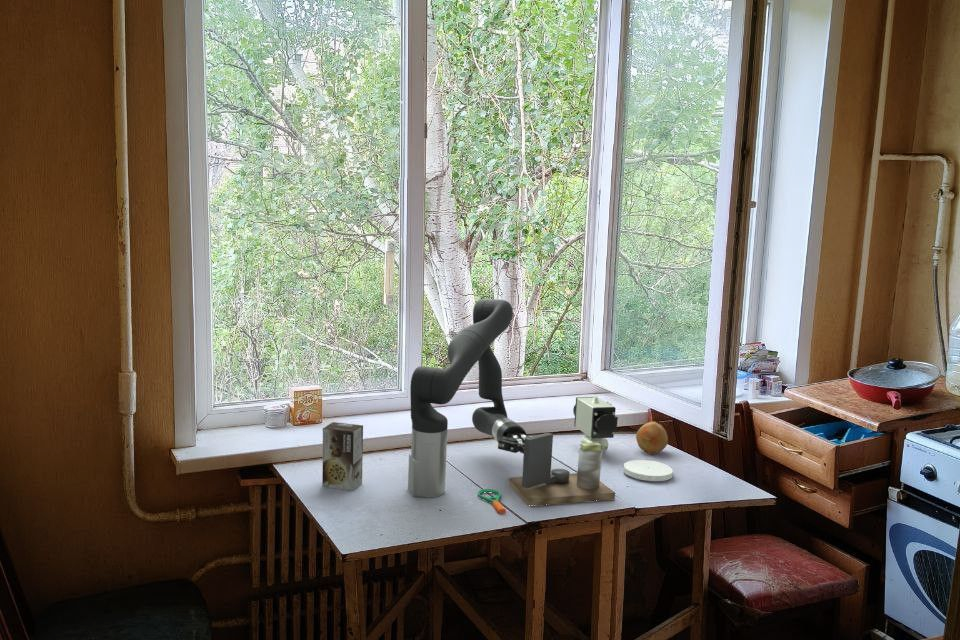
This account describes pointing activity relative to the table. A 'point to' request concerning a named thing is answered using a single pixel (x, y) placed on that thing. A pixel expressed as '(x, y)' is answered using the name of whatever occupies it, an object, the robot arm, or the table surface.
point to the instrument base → (570, 482)
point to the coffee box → (342, 456)
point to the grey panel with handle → (540, 462)
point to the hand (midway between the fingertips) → (531, 453)
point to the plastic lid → (648, 470)
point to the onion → (652, 438)
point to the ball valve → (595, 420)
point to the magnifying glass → (493, 499)
